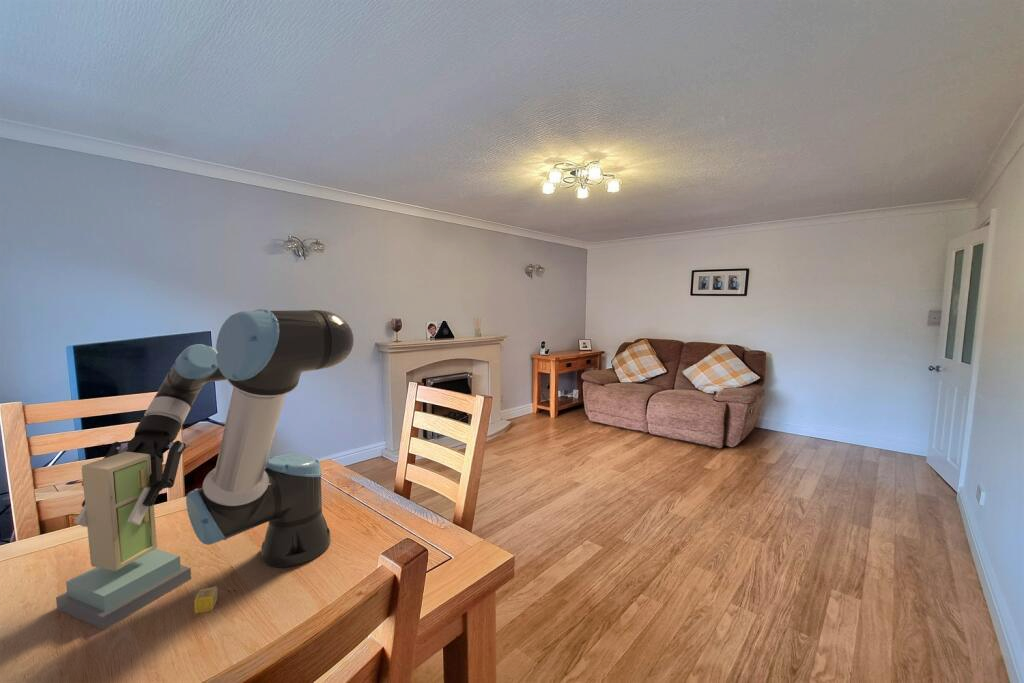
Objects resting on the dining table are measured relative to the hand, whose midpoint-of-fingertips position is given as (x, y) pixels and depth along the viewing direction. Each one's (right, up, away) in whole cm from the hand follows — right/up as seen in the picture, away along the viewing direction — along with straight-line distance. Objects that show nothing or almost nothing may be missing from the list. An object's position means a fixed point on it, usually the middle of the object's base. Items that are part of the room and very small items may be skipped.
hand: (107, 523), depth 80 cm
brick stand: (0, -17, +5) cm, 17 cm away
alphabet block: (+19, -17, +1) cm, 25 cm away
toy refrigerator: (0, -9, +4) cm, 10 cm away
